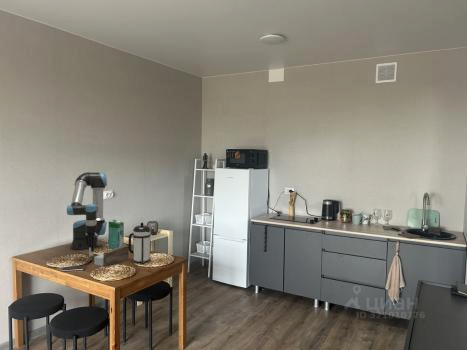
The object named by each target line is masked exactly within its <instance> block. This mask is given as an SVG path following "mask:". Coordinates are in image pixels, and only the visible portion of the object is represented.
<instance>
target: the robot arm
mask: <svg viewBox="0 0 467 350" xmlns="http://www.w3.org/2000/svg"><path fill="white" fill-rule="evenodd" d="M73 185H74V190H73V194H72V199H71V204H70V205H67V206H66V214H67V215H68V216H85V219H82V220H77V221H75V222H73V224H72V242H71V245H70V249H71V251H72V250H73V251H83V250H88V256H89V257H92V256H94V251H95V247H97V244H98V238H99V236H104V235H105V234H106V232H107V223H108V222H107V221H106V219H105V217H104V190H105V189H106V187H107V186H108V179H107V174H106V173H105V172H95V171H94V172H91V171H90V172H88V171H87V172H84V173H81V174H80V175H78V176H77V178H76V179H75V181H74V184H73ZM87 187H90V189H91V190H92V203H89V204H86V205H85V204H84V205H83V201H84V195H85V191H86V188H87Z"/></svg>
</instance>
